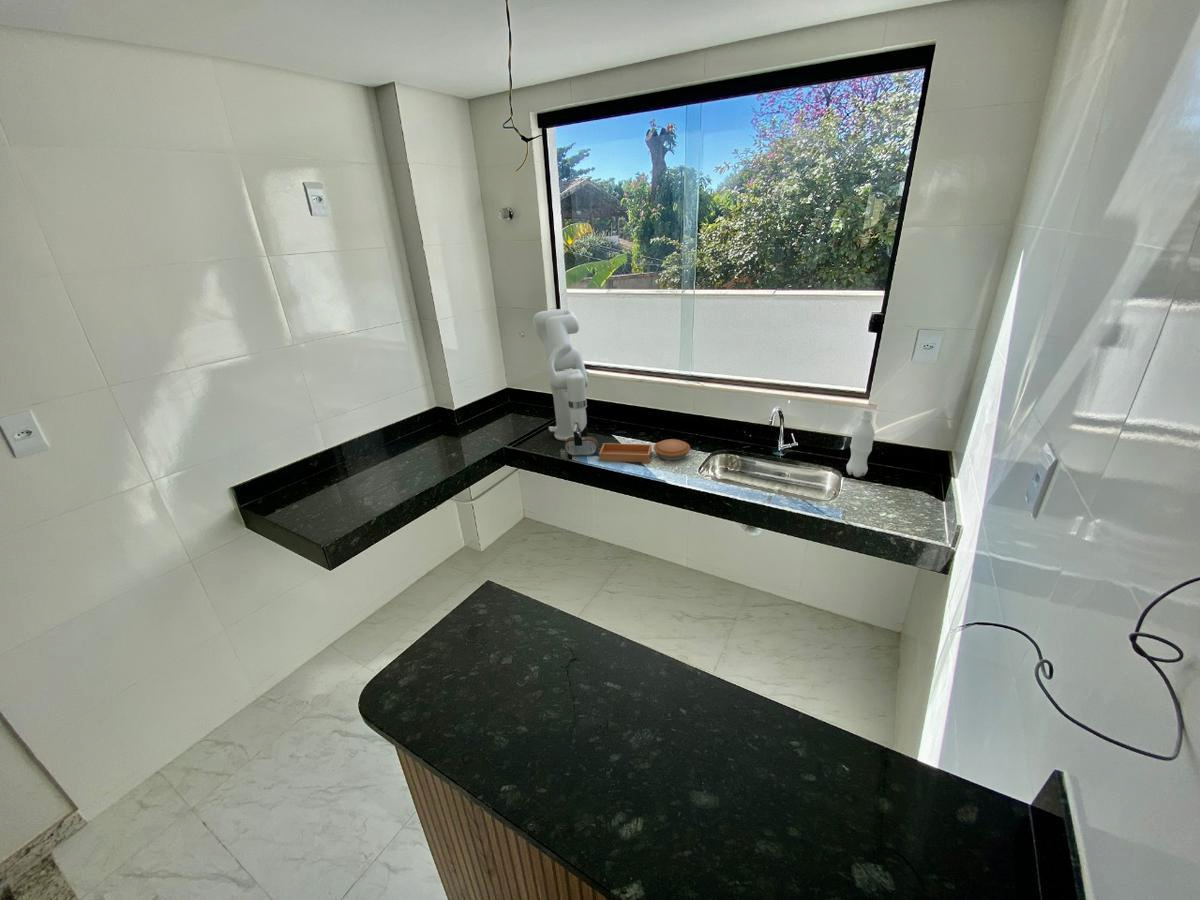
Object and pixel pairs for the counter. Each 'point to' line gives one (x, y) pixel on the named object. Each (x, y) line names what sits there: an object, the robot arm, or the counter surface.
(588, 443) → the tin
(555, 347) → the robot arm
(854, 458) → the water bottle
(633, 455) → the brown wooden tray
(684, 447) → the pie
